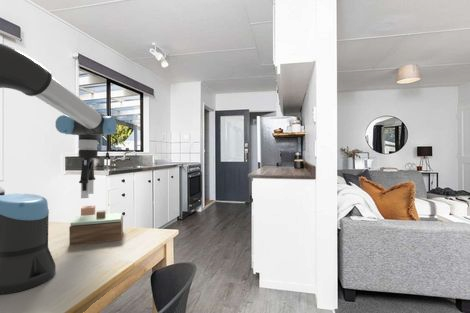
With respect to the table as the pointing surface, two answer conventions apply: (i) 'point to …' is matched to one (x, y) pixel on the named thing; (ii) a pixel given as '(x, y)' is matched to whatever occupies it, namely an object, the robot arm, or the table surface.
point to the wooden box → (95, 232)
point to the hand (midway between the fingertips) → (87, 195)
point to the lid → (97, 218)
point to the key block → (88, 210)
